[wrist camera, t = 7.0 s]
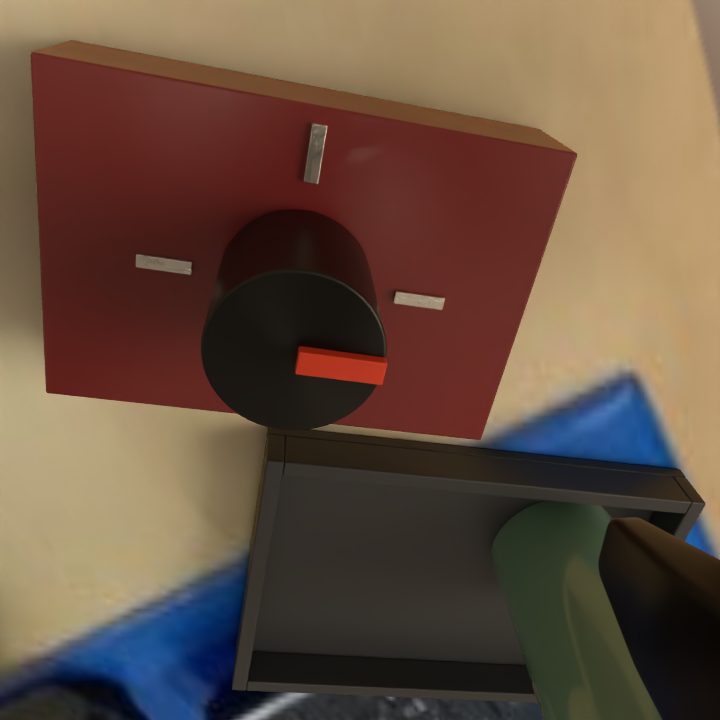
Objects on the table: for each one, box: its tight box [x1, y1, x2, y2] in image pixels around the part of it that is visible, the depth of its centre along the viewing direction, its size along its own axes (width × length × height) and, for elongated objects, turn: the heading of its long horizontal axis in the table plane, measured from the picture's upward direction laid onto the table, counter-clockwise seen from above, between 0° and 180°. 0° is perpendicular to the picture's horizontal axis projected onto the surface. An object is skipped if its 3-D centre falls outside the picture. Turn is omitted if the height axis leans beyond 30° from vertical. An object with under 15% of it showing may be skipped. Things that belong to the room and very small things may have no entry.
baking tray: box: [232, 427, 705, 703], centre depth 27 cm, size 16×12×2 cm
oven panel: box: [31, 40, 577, 440], centre depth 19 cm, size 13×9×3 cm
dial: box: [201, 210, 387, 430], centre depth 16 cm, size 4×4×4 cm
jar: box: [491, 501, 662, 720], centre depth 22 cm, size 5×5×12 cm
